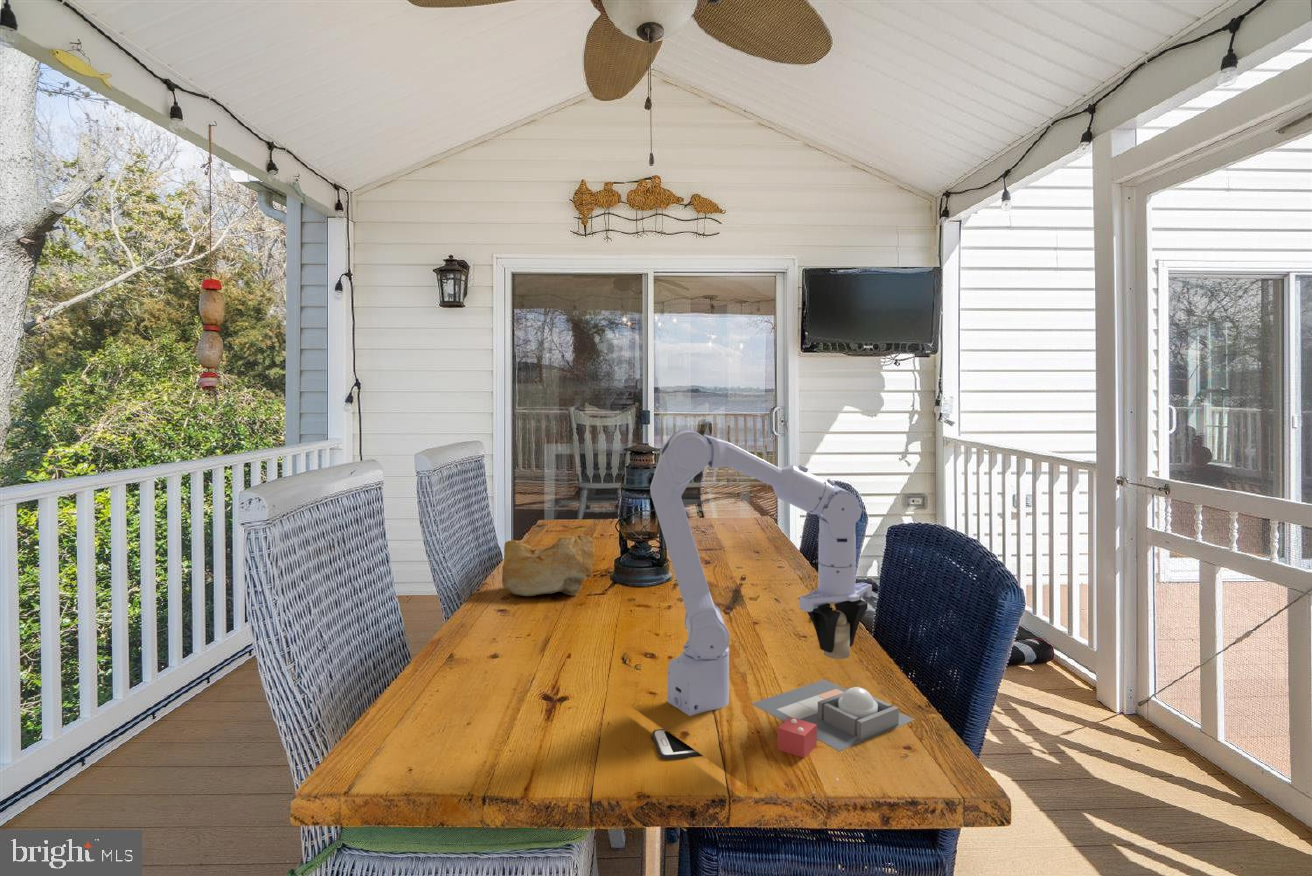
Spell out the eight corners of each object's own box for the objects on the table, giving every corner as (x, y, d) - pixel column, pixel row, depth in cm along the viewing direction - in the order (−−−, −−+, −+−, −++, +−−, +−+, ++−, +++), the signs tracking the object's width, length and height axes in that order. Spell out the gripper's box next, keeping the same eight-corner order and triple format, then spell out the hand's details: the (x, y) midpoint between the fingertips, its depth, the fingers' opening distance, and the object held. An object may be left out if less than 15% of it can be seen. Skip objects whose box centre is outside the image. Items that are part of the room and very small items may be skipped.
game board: (839, 758, 96) (839, 733, 96) (751, 709, 111) (751, 688, 111) (915, 726, 105) (915, 703, 105) (824, 685, 120) (824, 665, 120)
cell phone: (651, 736, 103) (650, 729, 103) (746, 726, 106) (746, 720, 106) (661, 763, 96) (661, 756, 96) (764, 752, 98) (764, 745, 98)
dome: (860, 731, 101) (860, 699, 100) (830, 716, 105) (830, 686, 105) (885, 720, 104) (886, 690, 103) (855, 707, 108) (855, 677, 108)
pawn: (837, 660, 109) (837, 616, 109) (818, 653, 113) (818, 609, 112) (855, 655, 112) (855, 611, 111) (835, 648, 115) (835, 605, 114)
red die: (804, 765, 94) (804, 733, 94) (777, 756, 96) (777, 724, 96) (816, 752, 97) (816, 721, 97) (790, 744, 100) (790, 714, 99)
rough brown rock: (604, 586, 186) (603, 529, 187) (592, 599, 170) (591, 536, 170) (519, 587, 188) (517, 531, 189) (499, 600, 172) (497, 538, 172)
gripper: (823, 575, 104) (823, 665, 105) (887, 561, 112) (886, 645, 113) (789, 566, 110) (789, 651, 111) (852, 553, 118) (852, 633, 119)
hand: (836, 647), depth 112 cm, fingers closed on pawn, 4 cm apart
